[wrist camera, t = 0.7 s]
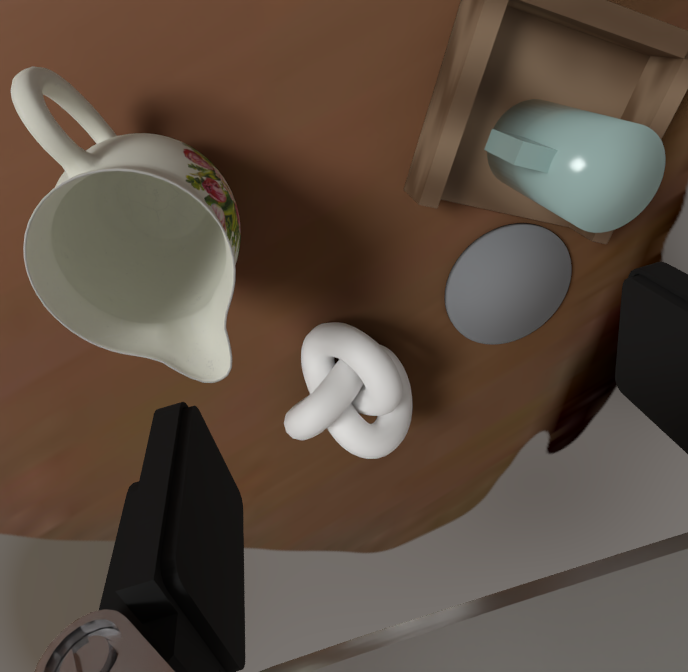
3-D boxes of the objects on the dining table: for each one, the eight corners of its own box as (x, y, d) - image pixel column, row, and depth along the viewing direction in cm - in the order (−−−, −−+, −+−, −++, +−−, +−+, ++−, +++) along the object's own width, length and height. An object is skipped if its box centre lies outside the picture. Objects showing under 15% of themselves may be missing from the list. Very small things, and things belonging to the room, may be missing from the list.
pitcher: (137, 15, 32) (83, 11, 20) (282, 250, 41) (302, 337, 30) (-6, 104, 33) (-136, 149, 21) (168, 313, 42) (144, 421, 31)
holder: (471, -35, 34) (498, -41, 30) (671, 38, 38) (712, 40, 35) (403, 189, 41) (418, 204, 37) (579, 228, 45) (606, 244, 42)
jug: (478, 80, 37) (560, 99, 28) (579, 110, 39) (685, 137, 30) (447, 170, 40) (512, 215, 31) (543, 193, 42) (629, 240, 33)
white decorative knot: (317, 433, 52) (332, 501, 45) (246, 356, 46) (249, 421, 38) (412, 377, 51) (443, 438, 43) (352, 289, 44) (376, 343, 37)
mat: (473, 211, 43) (476, 213, 42) (590, 236, 46) (594, 238, 45) (427, 333, 48) (429, 336, 48) (534, 347, 52) (537, 350, 51)
